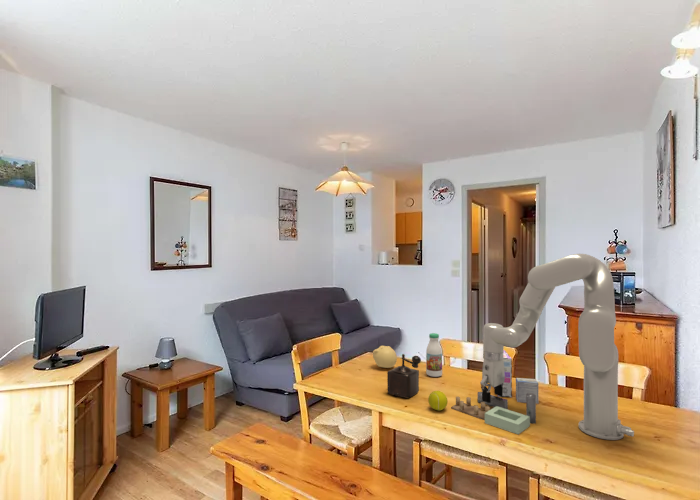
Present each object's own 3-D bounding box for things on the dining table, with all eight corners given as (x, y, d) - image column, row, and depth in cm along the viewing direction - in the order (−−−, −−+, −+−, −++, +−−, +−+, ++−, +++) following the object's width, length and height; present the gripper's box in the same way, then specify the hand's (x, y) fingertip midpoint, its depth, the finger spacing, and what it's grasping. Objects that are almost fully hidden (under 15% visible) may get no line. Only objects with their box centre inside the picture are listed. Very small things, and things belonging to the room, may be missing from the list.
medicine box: (536, 400, 155) (536, 379, 155) (538, 404, 151) (538, 382, 151) (515, 398, 157) (515, 377, 157) (517, 402, 153) (517, 381, 153)
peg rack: (494, 414, 142) (494, 404, 142) (484, 420, 137) (484, 410, 137) (460, 403, 152) (460, 394, 152) (451, 408, 147) (451, 399, 147)
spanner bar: (508, 408, 147) (508, 399, 147) (504, 410, 145) (504, 401, 145) (480, 399, 156) (480, 391, 156) (475, 401, 153) (475, 393, 153)
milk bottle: (423, 372, 190) (423, 332, 190) (437, 371, 192) (436, 331, 192) (431, 377, 182) (431, 336, 182) (445, 376, 185) (445, 335, 185)
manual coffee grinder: (385, 393, 163) (385, 351, 163) (398, 386, 172) (398, 346, 172) (418, 402, 153) (418, 357, 153) (430, 393, 162) (430, 351, 162)
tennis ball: (438, 415, 142) (438, 396, 142) (424, 408, 147) (424, 390, 147) (451, 410, 146) (450, 392, 146) (436, 404, 151) (436, 386, 151)
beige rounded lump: (385, 361, 209) (385, 342, 209) (401, 367, 199) (401, 346, 199) (369, 365, 202) (369, 345, 202) (385, 371, 192) (385, 350, 192)
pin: (537, 422, 135) (537, 394, 135) (533, 425, 133) (533, 396, 133) (528, 419, 137) (528, 392, 137) (525, 422, 135) (524, 394, 135)
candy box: (512, 397, 157) (512, 358, 157) (497, 396, 159) (497, 357, 158) (505, 386, 171) (505, 349, 171) (492, 385, 172) (491, 349, 172)
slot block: (529, 426, 132) (529, 416, 132) (518, 435, 126) (518, 424, 126) (496, 415, 141) (496, 406, 141) (484, 423, 135) (484, 413, 135)
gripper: (491, 361, 141) (490, 407, 141) (512, 353, 153) (511, 395, 153) (473, 357, 147) (472, 401, 147) (494, 349, 158) (494, 390, 158)
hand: (492, 398), depth 150 cm, fingers open, 9 cm apart
